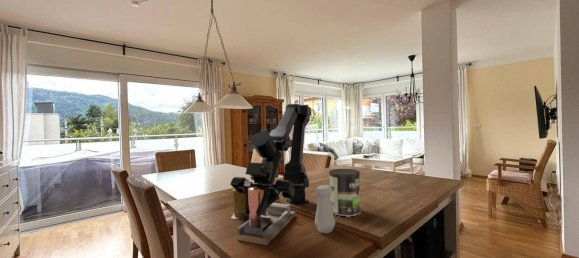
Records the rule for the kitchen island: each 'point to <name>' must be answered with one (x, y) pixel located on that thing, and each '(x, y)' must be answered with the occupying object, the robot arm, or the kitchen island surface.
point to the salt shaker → (324, 210)
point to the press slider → (255, 222)
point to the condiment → (239, 205)
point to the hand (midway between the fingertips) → (252, 215)
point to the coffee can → (345, 191)
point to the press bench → (280, 220)
